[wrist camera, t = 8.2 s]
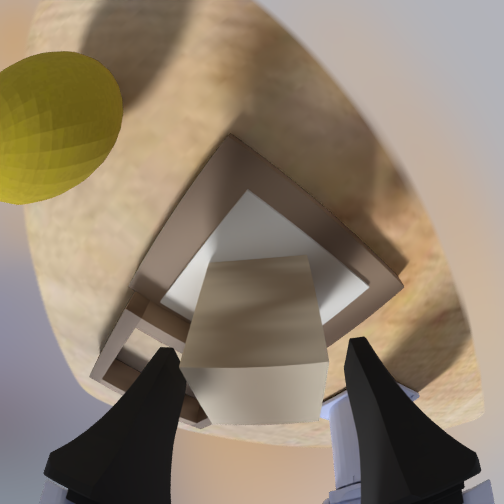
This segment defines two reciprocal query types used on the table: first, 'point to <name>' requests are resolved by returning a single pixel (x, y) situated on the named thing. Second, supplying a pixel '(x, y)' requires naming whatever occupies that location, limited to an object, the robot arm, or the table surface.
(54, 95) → the lemon
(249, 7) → the table surface
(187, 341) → the block
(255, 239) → the brown divided tray
